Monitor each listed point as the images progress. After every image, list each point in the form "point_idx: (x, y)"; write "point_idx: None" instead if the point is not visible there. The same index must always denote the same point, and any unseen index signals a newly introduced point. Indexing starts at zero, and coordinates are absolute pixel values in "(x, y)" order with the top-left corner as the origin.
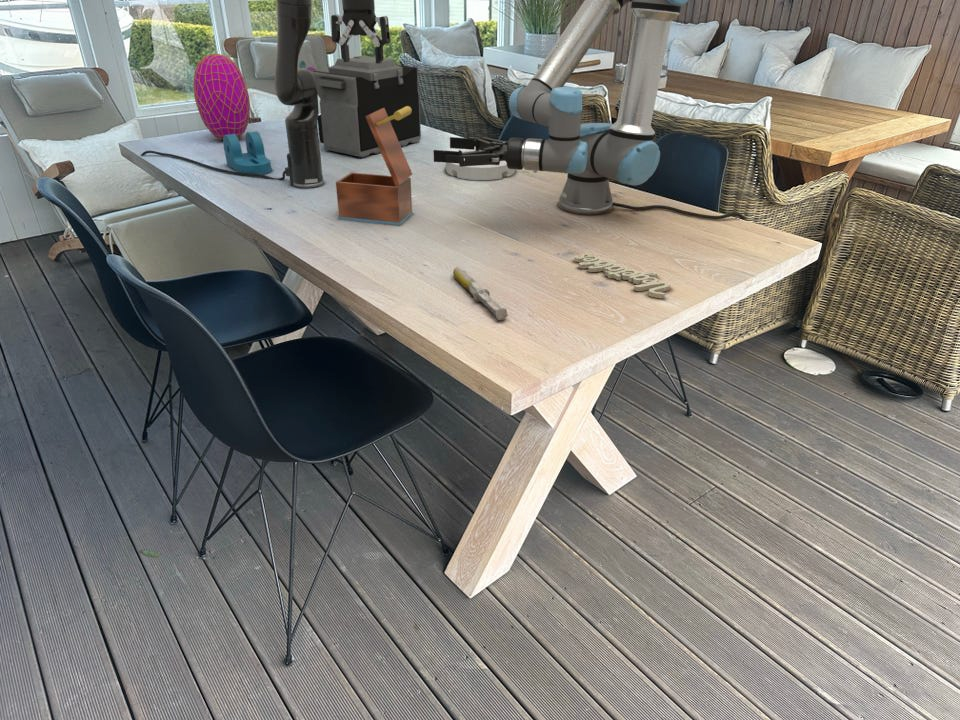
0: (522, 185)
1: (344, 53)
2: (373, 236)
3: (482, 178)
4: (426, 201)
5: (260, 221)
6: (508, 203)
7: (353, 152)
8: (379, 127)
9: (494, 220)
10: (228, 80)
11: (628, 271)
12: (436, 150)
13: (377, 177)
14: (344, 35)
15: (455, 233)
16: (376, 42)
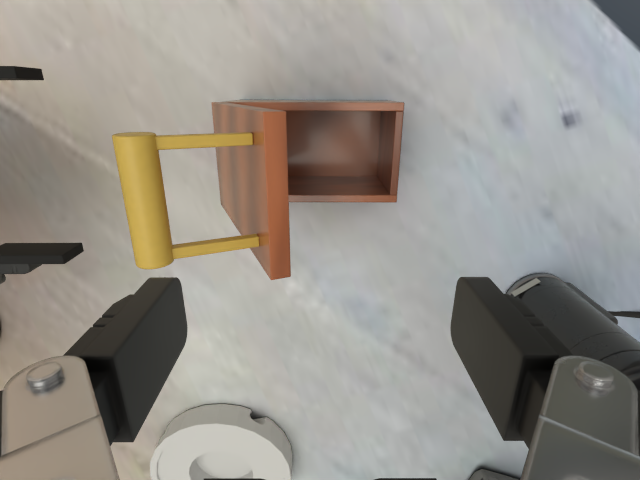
0: None
1: (499, 310)
2: (266, 7)
3: (197, 409)
4: (251, 265)
5: (563, 27)
6: (92, 297)
7: (497, 477)
8: (249, 149)
9: (69, 191)
10: None
11: None
12: (4, 70)
13: (318, 193)
14: (593, 441)
15: (104, 86)
16: (45, 394)
